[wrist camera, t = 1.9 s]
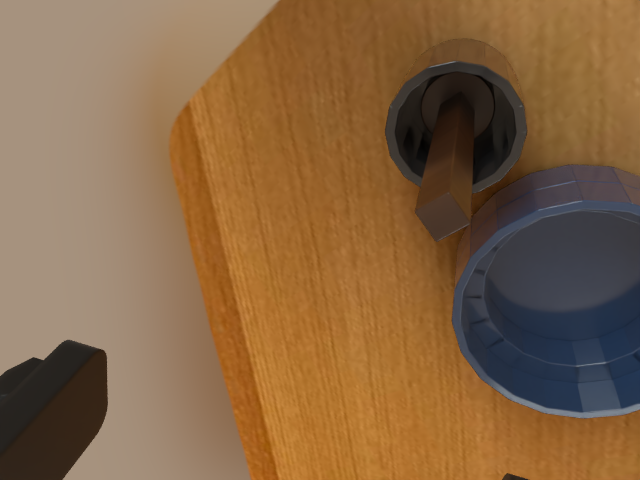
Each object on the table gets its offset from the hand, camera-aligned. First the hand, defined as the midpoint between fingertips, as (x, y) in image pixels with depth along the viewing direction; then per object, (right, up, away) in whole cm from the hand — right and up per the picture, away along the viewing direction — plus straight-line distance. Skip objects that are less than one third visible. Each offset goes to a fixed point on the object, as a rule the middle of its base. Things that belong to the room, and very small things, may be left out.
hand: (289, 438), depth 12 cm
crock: (+9, +12, +23) cm, 28 cm away
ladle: (+9, +12, +23) cm, 27 cm away
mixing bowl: (+16, +2, +26) cm, 31 cm away
